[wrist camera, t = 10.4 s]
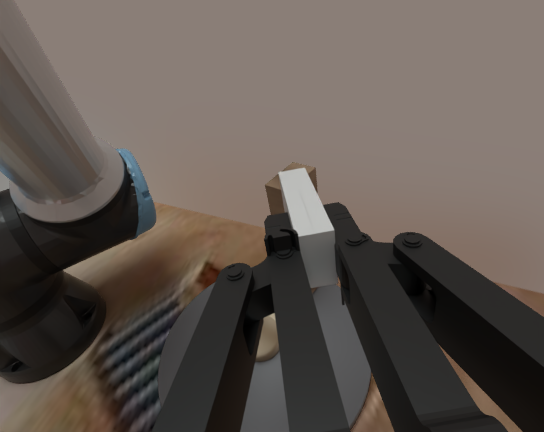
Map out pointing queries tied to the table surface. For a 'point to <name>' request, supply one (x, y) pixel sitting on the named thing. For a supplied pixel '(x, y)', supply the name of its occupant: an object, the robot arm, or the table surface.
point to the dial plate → (268, 374)
